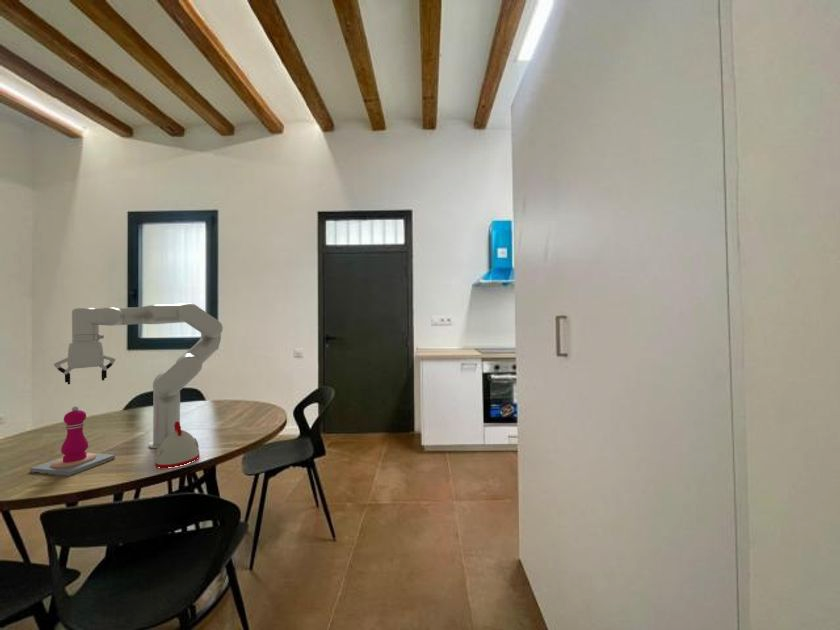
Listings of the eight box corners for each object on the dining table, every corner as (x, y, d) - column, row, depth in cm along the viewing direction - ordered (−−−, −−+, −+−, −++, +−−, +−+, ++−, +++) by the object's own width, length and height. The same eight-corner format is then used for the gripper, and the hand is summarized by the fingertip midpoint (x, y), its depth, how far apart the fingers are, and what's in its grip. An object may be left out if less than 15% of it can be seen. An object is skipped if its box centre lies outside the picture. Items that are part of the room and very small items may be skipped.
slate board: (114, 458, 133) (114, 453, 133) (68, 476, 118) (68, 470, 118) (79, 455, 136) (79, 450, 136) (29, 472, 121) (30, 466, 121)
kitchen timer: (194, 451, 140) (194, 415, 140) (203, 460, 130) (203, 422, 130) (152, 461, 130) (152, 422, 130) (158, 472, 120) (158, 430, 120)
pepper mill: (74, 463, 123) (74, 408, 124) (55, 463, 124) (55, 409, 124) (93, 455, 131) (93, 404, 131) (75, 455, 131) (75, 404, 131)
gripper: (114, 337, 142) (114, 377, 142) (53, 340, 130) (54, 384, 130) (115, 338, 137) (116, 379, 137) (53, 340, 124) (53, 386, 124)
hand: (86, 382), depth 133 cm, fingers open, 9 cm apart
